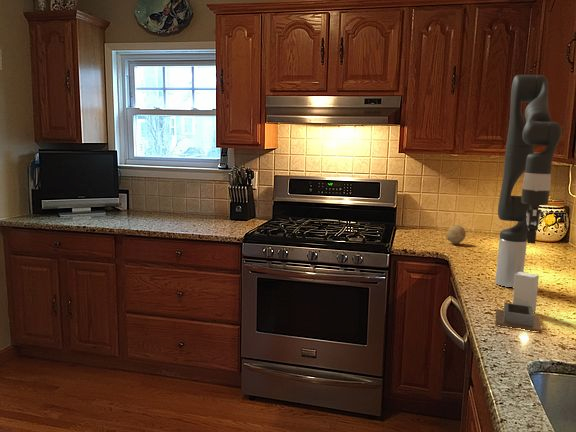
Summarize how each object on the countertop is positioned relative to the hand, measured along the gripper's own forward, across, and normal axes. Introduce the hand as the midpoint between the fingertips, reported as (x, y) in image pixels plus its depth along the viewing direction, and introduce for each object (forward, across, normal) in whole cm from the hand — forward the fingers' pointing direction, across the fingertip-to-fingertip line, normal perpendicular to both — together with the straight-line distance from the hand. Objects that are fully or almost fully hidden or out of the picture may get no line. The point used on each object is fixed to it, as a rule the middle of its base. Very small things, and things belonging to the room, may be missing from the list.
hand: (530, 240), depth 158 cm
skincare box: (+23, 0, 0) cm, 23 cm away
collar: (+23, +11, -2) cm, 25 cm away
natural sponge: (+21, -97, -30) cm, 103 cm away
